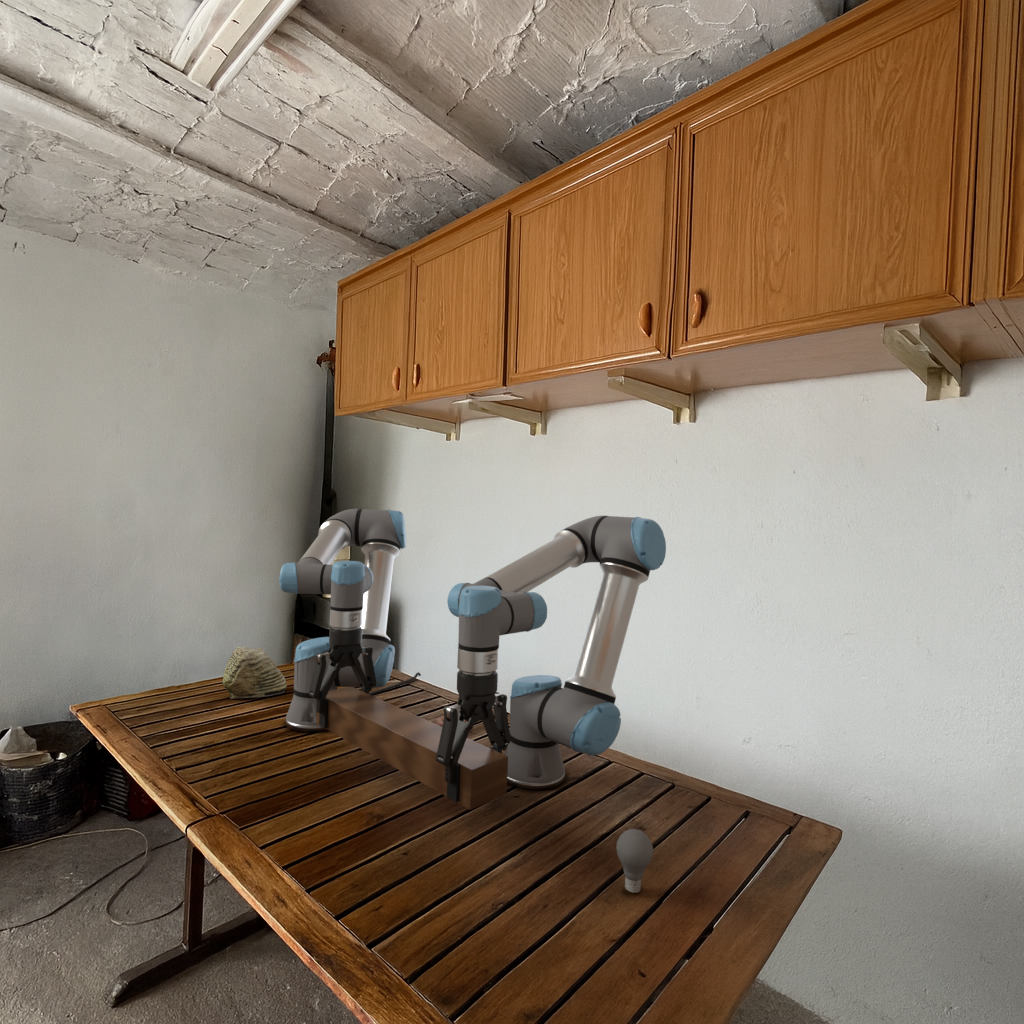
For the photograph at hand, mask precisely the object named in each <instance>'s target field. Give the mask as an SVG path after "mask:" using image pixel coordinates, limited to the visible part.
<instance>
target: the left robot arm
mask: <svg viewBox="0 0 1024 1024" xmlns="http://www.w3.org/2000/svg"><path fill="white" fill-rule="evenodd" d="M406 532H407V531H406V523H405V516H404V514H403V512H401V511H399V510H392V509H367V508H349V509H345V510H342V511H340V512H337V513H335V514H334V515H332V516H330V517H329V518H327V519H326V520H325V521H324V522H323V523H322V524H321V525H320V527H319V529H318V533H317V537H316V538H315V539H314V540H313V542H312V543H311V545H310V546H309V547H308V548H307V550H306V551H305V553H304V554H303V555H302V556H301V558H300V559H299V561H298V562H295V561H293V562H286V563H284V564H282V566H281V568H280V570H279V575H278V576H279V577H278V584H279V588H280V590H281V592H283V593H288V594H295V595H299V594H302V595H303V594H304V595H328V596H329V595H330V610H329V612H330V613H329V626H330V628H329V631H328V633H329V635H328V636H321V637H315V638H311V639H307V640H304V641H302V642H300V643H298V644H297V645H296V648H295V655H294V660H293V662H294V672H293V673H294V674H293V695H292V696H293V697H292V699H291V702H290V704H289V708H288V711H287V713H286V715H285V726H286V728H287V729H289V730H291V731H294V732H295V731H296V732H301V733H316V732H325V731H328V730H327V729H325V728H328V707H329V699H327V698H326V696H327V694H328V692H329V691H331V690H336V689H338V687H339V688H345V687H350V686H351V687H354V688H357V689H358V690H360V691H363V692H365V693H367V694H369V695H372V696H374V695H376V694H379V693H381V692H386V691H388V690H391V689H394V688H397V687H400V686H403V685H405V684H408V683H410V682H412V681H414V680H415V679H417V677H418V676H419V677H421V676H422V674H421V673H420V672H419V671H418V672H416V673H415V675H414V676H413V677H411V678H409V679H406V680H404V681H401V682H399V683H396V684H392V685H390V686H386V685H387V684H388V683H389V681H390V677H391V675H392V671H393V668H394V662H395V654H396V648H395V645H393V644H391V638H390V637H389V636H388V635H387V628H388V627H387V626H388V618H389V607H390V598H391V592H392V591H391V589H392V580H393V572H394V563H395V559H396V558H397V557H398V556H400V554H401V550H403V549H406V547H407V533H406ZM347 547H361V548H360V550H361V553H362V554H364V557H365V558H364V563H363V562H362V561H359V560H338V561H335V560H336V558H337V557H338V555H339V554H340V552H341V550H343V549H346V548H347ZM373 688H379V689H377V690H373V691H372V689H373ZM316 710H317V712H318V713H319V725H318V724H316Z"/></svg>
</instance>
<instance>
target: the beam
mask: <svg viewBox="0 0 1024 1024" xmlns="http://www.w3.org/2000/svg"><path fill="white" fill-rule="evenodd" d="M358 689H359V688H357V687H351V686H350V687H339V688H337V689H336V690H331V691H329V692H328V694H327V696H326V698H327V699H329V707H328V728H325V729H327V730H326V731H329V732H331V733H332V734H334V735H336V736H338V737H340V738H341V739H343V740H345V741H347V742H348V743H350V744H351V745H353V746H355V747H357V748H359V749H360V750H362V751H364V752H366V753H368V754H370V755H371V756H373V757H375V758H376V759H379V760H380V761H382V762H384V763H386V764H387V765H389V766H391V767H393V768H395V769H396V770H398V771H400V772H402V773H403V774H406V775H407V776H409V777H411V778H413V779H414V780H416V781H418V782H420V783H422V784H423V785H425V786H426V787H428V788H430V789H432V790H434V791H435V792H437V793H439V794H441V795H443V796H445V797H446V798H447V782H446V781H445V765H443V764H441V763H439V762H437V761H436V755H437V751H438V746H439V741H440V736H441V732H442V727H441V726H439V725H437V724H435V723H432V722H430V721H429V720H428V719H426V718H423V717H421V716H419V715H417V714H414V713H412V712H410V711H407V710H406V709H403V708H401V707H399V706H397V705H394V704H392V703H390V702H388V701H385V700H383V699H381V698H378V697H377V696H374V695H369V694H367V693H365V692H363V691H360V690H358ZM316 724H318V725H319V713H318V712H317V710H316ZM488 747H489V746H487V745H484V744H482V743H480V742H477V741H475V740H473V739H471V738H468V737H467V739H466V741H465V744H464V747H463V749H462V752H461V755H460V757H459V760H458V762H457V764H459V765H461V771H460V800H459V802H456V804H459V805H461V806H462V807H464V808H465V809H467V810H469V811H471V810H473V809H476V808H478V807H481V806H483V805H485V804H488V803H489V802H492V801H494V800H497V799H498V798H499V799H500V798H501V797H503V796H505V795H507V794H508V783H507V773H508V756H506V755H504V754H505V753H503V752H502V753H500V752H497V751H495V750H493V749H491V748H488ZM451 758H452V756H451Z"/></svg>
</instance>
